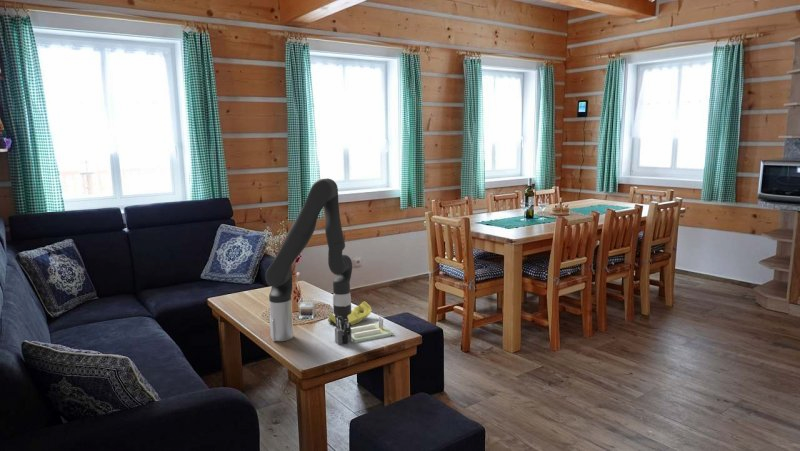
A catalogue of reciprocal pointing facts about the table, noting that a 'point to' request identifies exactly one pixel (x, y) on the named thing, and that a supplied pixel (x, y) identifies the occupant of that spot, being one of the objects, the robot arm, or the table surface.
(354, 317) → the plastic component
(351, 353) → the table surface
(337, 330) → the plug
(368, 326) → the board
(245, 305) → the table surface
